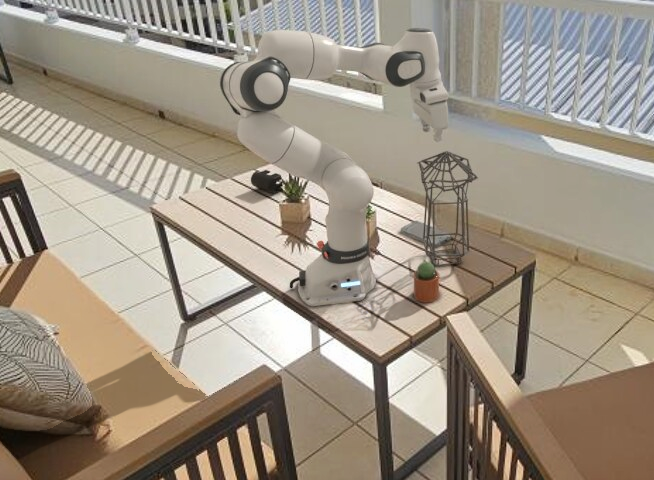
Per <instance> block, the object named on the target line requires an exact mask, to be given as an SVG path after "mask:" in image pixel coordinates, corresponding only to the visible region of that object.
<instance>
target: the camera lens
mask: <svg viewBox="0 0 654 480" xmlns="http://www.w3.org/2000/svg"><path fill="white" fill-rule="evenodd" d="M270 173H271V171H270V170H268V169H265V170H262V171H260V172H259V171H254V172H253V173H252V175H251V177H250V184H251V185H252V186H253V187H255V188H257V189H259V190H263V191H265V192H268V193H271V194H273V195H274V194H277V193H279V192H281V191H283V190H284V189H283V182H282V181H281V180H282V175H281V174H280V173H276V172H275V173H273V174H270ZM280 181H281V182H280ZM277 182H279V183H277Z"/></svg>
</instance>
